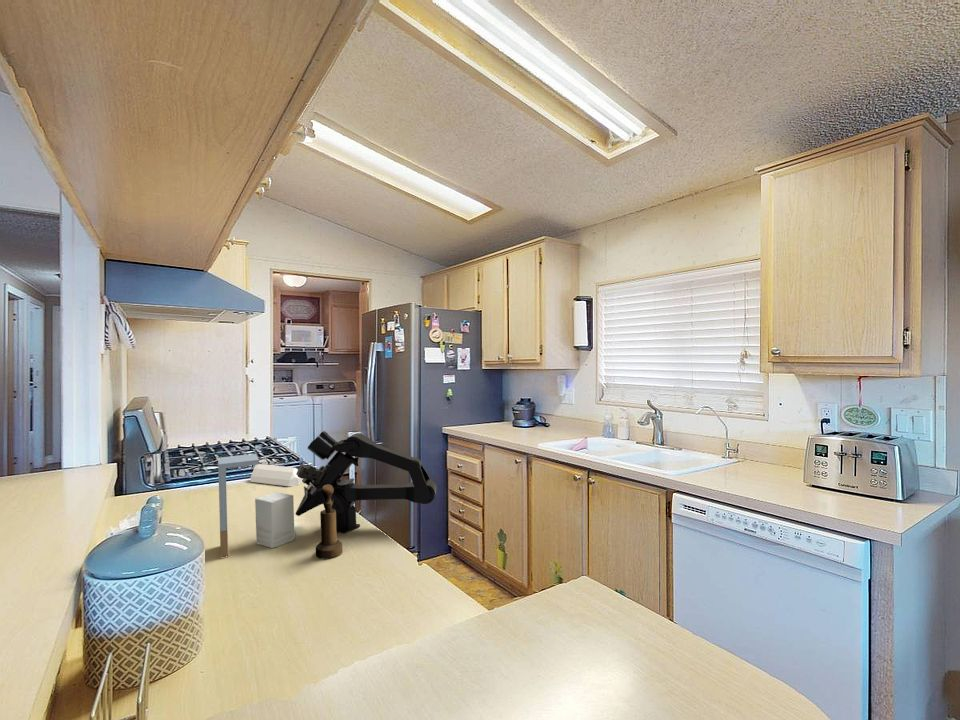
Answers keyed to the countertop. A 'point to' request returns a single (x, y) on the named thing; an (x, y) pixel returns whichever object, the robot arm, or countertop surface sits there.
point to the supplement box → (274, 519)
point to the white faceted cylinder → (275, 475)
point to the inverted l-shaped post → (222, 465)
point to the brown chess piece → (328, 528)
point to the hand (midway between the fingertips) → (296, 514)
